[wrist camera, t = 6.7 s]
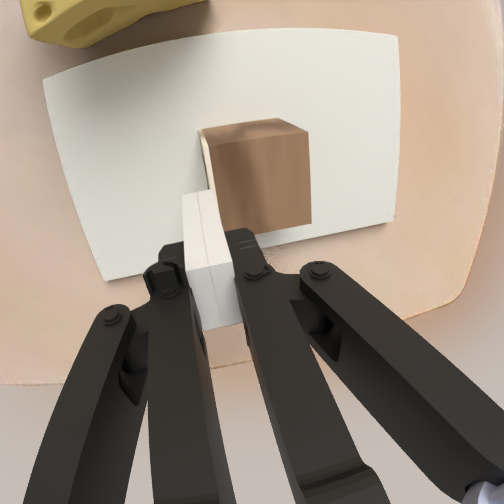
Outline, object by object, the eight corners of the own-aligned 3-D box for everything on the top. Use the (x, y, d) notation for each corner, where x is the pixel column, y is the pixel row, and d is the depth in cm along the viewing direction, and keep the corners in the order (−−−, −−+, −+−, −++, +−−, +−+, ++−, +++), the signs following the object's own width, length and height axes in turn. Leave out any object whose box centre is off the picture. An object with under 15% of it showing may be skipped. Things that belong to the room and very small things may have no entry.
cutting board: (106, 273, 27) (104, 281, 26) (48, 79, 17) (42, 79, 16) (387, 215, 30) (393, 220, 29) (389, 36, 20) (397, 35, 19)
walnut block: (219, 242, 19) (311, 223, 20) (202, 147, 16) (308, 131, 17) (210, 204, 24) (284, 190, 25) (197, 129, 21) (278, 117, 22)
